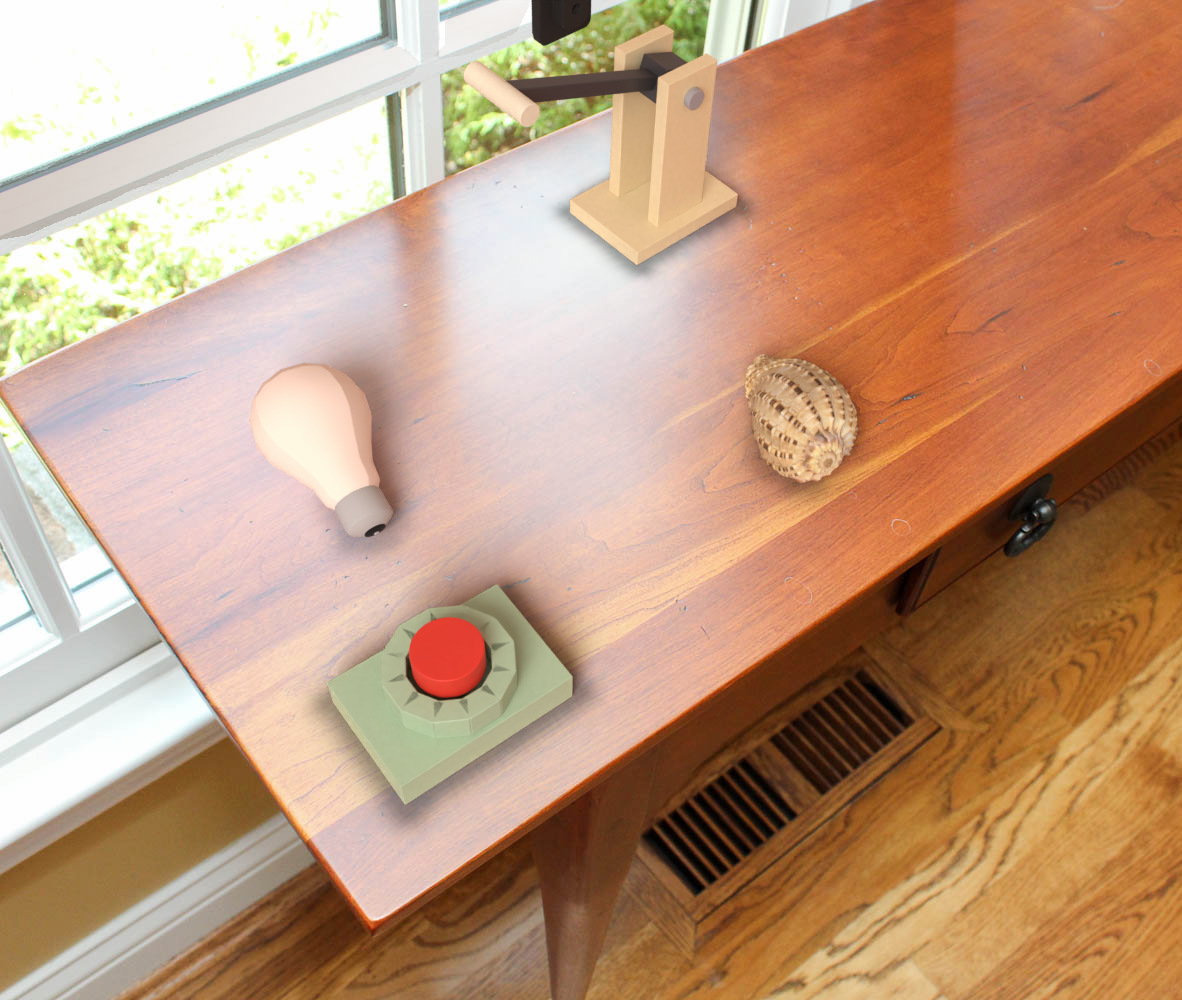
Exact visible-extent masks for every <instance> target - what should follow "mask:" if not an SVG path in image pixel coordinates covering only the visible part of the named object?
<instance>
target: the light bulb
mask: <svg viewBox="0 0 1182 1000" xmlns="http://www.w3.org/2000/svg"><path fill="white" fill-rule="evenodd" d="M249 425H250V429H251V432H252V435H253V439H254V442H255V446H256V449H257V451H258V452H259V453H261V455H262V456H263V457H264V458H265V460H267V461H268V462H269V464H270V465H271V466H273V467H274V468H276V469H278V470H279V471H281V472H282V473H284V474H287V475H288V476H290V477H292V478H293V479H295V480H296V481H298V482H299V483H301V484H302V485H303V486H305V487H307V489H310V490H311V491H313V492H314V494H316V496H317V497H318V499H319V500H320V501H321V502H322V504H323V505H324V506H325V508H327V509H330V510H333V511H334V513H335V516H336V517H337V518H338V520H339V522H340V524H341V525H342V528H343V529H344V530H345V532H346V534H347V535H348V536H349V537H352V538H371V537H375V536H377V535H379V534H380V533H382V531H384V530H385V528H386V527H387V525H388V523H389V521H390V520H391V519H392V517H393V515H394V510H393V508H392V506H391V505H390V503H389V501H388V500H387V498H386V496H385V494H384V492H383V491H382V488H380V483H381V478H380V475H379V473H378V471H377V468H376V466H375V463H374V459H373V446H372V445H373V444H372V411H371V409H370V405H369V403H368V400H367V396H366V393H365V392H364V391H363V390H362V388H360V387H359V386H358V385H357V383H355V381H354V380H353V379H352V378H351V377H349V376H348V375H347V374H346V373H344V372H342V371H340V370H338V369H336V368H333V367H331V366H329V365H328V364H324V363H323V364H322V363H309V362H302V363H299V364H295V365H291V366H287V367H284V368H281V369H279V370H278V371H277V372H275V373H274V374H273V375H272V376H271V377H269V378H267V379H266V380H265V381H263V382H262V383H261V386H260V387H259V388H258V391H257V392H256V394H255V396H254V397H253V398H252V400H251V408H250V413H249Z"/></svg>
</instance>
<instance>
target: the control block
mask: <svg viewBox="0 0 1182 1000" xmlns="http://www.w3.org/2000/svg"><path fill="white" fill-rule="evenodd" d="M445 617H454V618H460V619H463V620H466V621H468V622H470V623H471V624H473V625H474V626H475V627H476V628H477V629H478V630H479V631H480V633H481V634H482V637H483V639H484V644H485V653H486V670H485V673H484V676H483V678H482V679H481V681H480V682H479V683H478V684H477V686H475V687H474V688H473V689H472V690H470V691H469V692H467V693H465V694H463V695H460V696H457V697H451V698H443V697H437V696H433V695H431V694H429V693H427V692H425V691H424V690H423V689H421V688H420V687H419V685H418V684H417V683H416V681H415V679H414V677H413V673H412V668H411V663H410V658H409V647H410V643H411V640H412V638H413V637H414V635H415V634H416V632H417V631H418V630H419V629H420V628H421V627H422V626H424V625H425V624H427V623H429V622H431V621H433V620H436V619H439V618H445ZM573 680H574V677H573V675H572V674H571V672H570V671H569V670H568V668H567V667H565V665H564V664H563V663H562V661H561V660H560V659H559V658H558V656H557V655H556V653H554V651H552V649H551V648H550V646H548V644H547V643H546V641H544V639H543V638H542V637H541V635H540V634H539V633H538V632H537V630H536V629H535V628H534V626H532V625H531V623H530V622H529V621H528V620H527V618H526V617H525V616H524V615H523V614H522V612H521V611H520V610H519V609H518V607H516V605H515V603H513V601H512V600H511V599H510V597H509V596H508V595H507V594H506V593H505V591H504V590H503V589H502V588H501V587H500V585H498V584H497V583H496V584H494V585H492V586H490V587H488V588H487V589H485V590H483V591H481V592H480V593H478V594H477V595H475V596H473V597H471V598H470V599H468V600H466V601H464V602H463V603H461V604H458V605H449V606H448V605H447V606H438V607H429V608H427V609H425V610H424V611H421V612H420V613H418V614H416V615H415V616H413V617H411V618H409V619H408V620H406V621H403V622H402V623H400V624H399V626H397V628H396V630H395V631H394V633H393V634H392V635H391V638H390V639H389V640H388V642H387V644H386V645H385V647H384V648H383V649H381V650H380V651H379V652H377V653H375V654H373V655H371V656H370V657H367V659H365V660H363V661H361V662H359V663H358V664H356V665H354V666H352V667H351V668H349V669H347V670H345V671H344V672H342V673H340V674H339V675H336V676H335V677H334V678H332V679H330V680H329V681H327V682H326V685H327V688H328V691H329V694H330V697H331V701H332V703H333V705H334V706H335V708H336V709H337V710H338V712H339V713H340V715H341V716H342V717H343V719H344V720H345V722H346V723H347V725H348V726H349V728H350V730H352V732H353V733H354V735H355V736H356V737H357V739H358V740H359V741H360V743H361V744H362V746H363V747H364V749H365V750H366V751H367V753H368V755H369V756H370V757H371V759H372V761H373V762H374V763H375V765H376V766H377V767H378V769H379V770H380V772H381V773H382V774H383V776H384V778H385V779H386V780H387V782H388V783H389V784H390V786H391V787H392V789H393V791H394V792H395V793H396V794H397V796H398V797H399V799H400V800H401V802H402V803H403V805H405V806H406V805H408V804H409V803H411V802H412V801H414V800H416V799H417V798H418V797H420V796H422V795H423V794H425V793H426V792H428V791H429V790H431V789H432V788H434V787H436V786H437V785H439V784H440V783H442V782H443V781H445V780H446V779H448V778H449V777H451V776H452V775H454V774H455V773H457V772H458V771H460V770H462V769H463V768H464V767H466V766H467V765H469V764H470V763H472V762H473V761H475V760H477V759H479V758H480V757H481V756H483V755H485V754H487V753H488V752H489V751H491V750H492V749H494V748H495V747H497V746H498V745H500V744H501V743H503V742H504V741H506V740H507V739H509V738H511V737H512V736H513V735H516V734H517V733H519V732H520V731H522V730H523V729H525V728H527V726H529V725H531V724H532V723H534V722H535V721H537V720H538V719H540V718H541V717H543V716H544V715H545V714H547V713H549V712H551V711H552V710H554V709H555V708H556V707H558V706H559V705H562V704H563V703H564V702H566V701H567V700H569V699H570V698H572V697H573V689H574V687H573V686H574V685H573V684H574V683H573Z"/></svg>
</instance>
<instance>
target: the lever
mask: <svg viewBox="0 0 1182 1000" xmlns="http://www.w3.org/2000/svg"><path fill="white" fill-rule="evenodd" d="M686 63H688V61H687V60H685V59H684V58H682V57H681V56H679V54H676V53H675V52H674V51H672V52H661V53H648V54H644V55H643V58H642V62H641V65H640V69H633V70H622V71H614V70H612V71H611V70H610V71H600V72H589V73H576V74H566V75H565V74H564V75H554V76H544V77H543V76H541V77H531V78H519V79H510V80H509V79H508V80H507V79H506V80H505V79H504V78H503V77H502V76H501V75H498V74H497V73H496V72H494V70H492V69H491V68H490V67H488V66H487V65H485V64H484V63H483V62H481V61H480V60H474V61H471V62H469V64H467V66H466V67H465V69H464V72H463V80H464V82H465V83H466V84H467V85H469V86H470V87H471V88H473V89H474V90H475V91H476V92H478V93H479V94H480V95H481V96H482V97H484V98H485V99H487V100H488V101H489V102H491V103H492V104H493V105H494V106H496V107H497V108H498V109H500V110H501V111H502V112H503V113H505V114H507V116H509V117H510V118H511V119H513V120H514V121H515V122H516V123H518V124H519V125H520V126H522V127H525V128H529V127H531V126H533V125H534V124H535V123H536V122H537V121H538V119H539V117H540V112H541V109H540V107H539V105H538V104H537V103H544V102H545V103H546V102H557V101H565V100H566V101H567V100H573V99H574V100H575V99H583V98H592V97H602V96H603V97H604V96H611V95H612V96H613V94H622V93H631V92H640V93H641V94H643V95H644V96H646V97H647V98H648V99H650V100H651V101H653V102H654V103H655V104H656V99H657V85H658V77H660V76H662V75H664V74H666V73H668V72H670V71H672V70H674V69H676V68H678V67H680V66H682V65H684V64H686Z"/></svg>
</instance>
